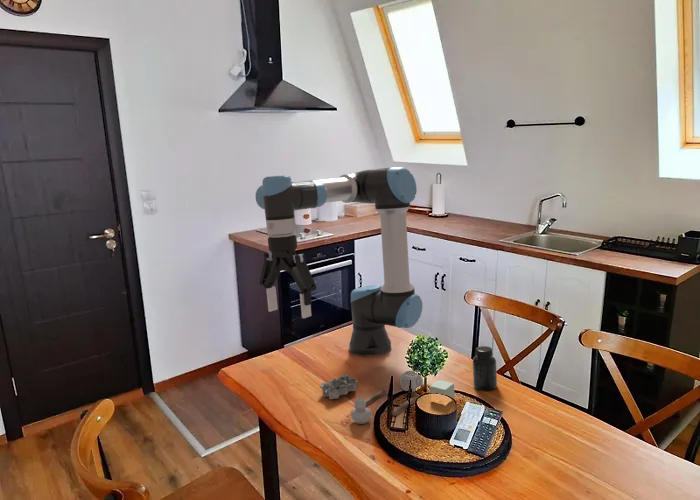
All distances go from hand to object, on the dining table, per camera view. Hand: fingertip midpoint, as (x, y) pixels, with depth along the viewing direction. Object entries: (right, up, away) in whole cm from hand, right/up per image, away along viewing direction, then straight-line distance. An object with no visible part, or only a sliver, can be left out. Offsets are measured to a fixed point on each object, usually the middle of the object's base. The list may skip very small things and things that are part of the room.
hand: (289, 313), depth 133 cm
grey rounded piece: (+19, -30, +2) cm, 36 cm away
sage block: (+43, -27, +11) cm, 52 cm away
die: (+35, -26, +20) cm, 48 cm away
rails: (+27, -28, +11) cm, 41 cm away
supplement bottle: (+57, -25, +18) cm, 65 cm away
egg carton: (+15, -28, +19) cm, 37 cm away
